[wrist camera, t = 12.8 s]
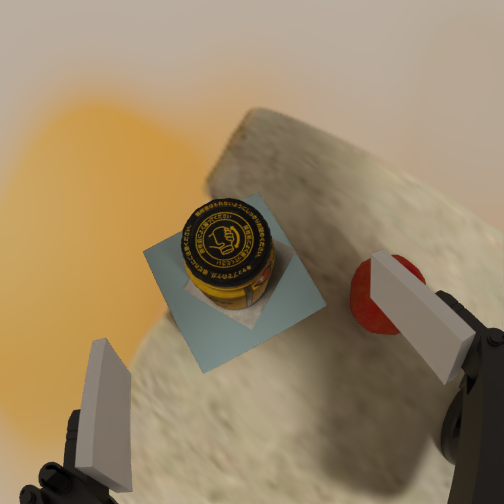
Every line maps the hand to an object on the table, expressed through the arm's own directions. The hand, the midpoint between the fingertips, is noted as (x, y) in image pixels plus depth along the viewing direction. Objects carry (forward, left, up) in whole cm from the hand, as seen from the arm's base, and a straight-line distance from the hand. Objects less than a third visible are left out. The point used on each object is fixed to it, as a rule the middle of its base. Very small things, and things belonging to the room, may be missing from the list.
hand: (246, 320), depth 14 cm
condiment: (-2, -5, -14) cm, 15 cm away
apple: (-15, +4, -23) cm, 27 cm away
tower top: (-1, -5, -19) cm, 19 cm away
